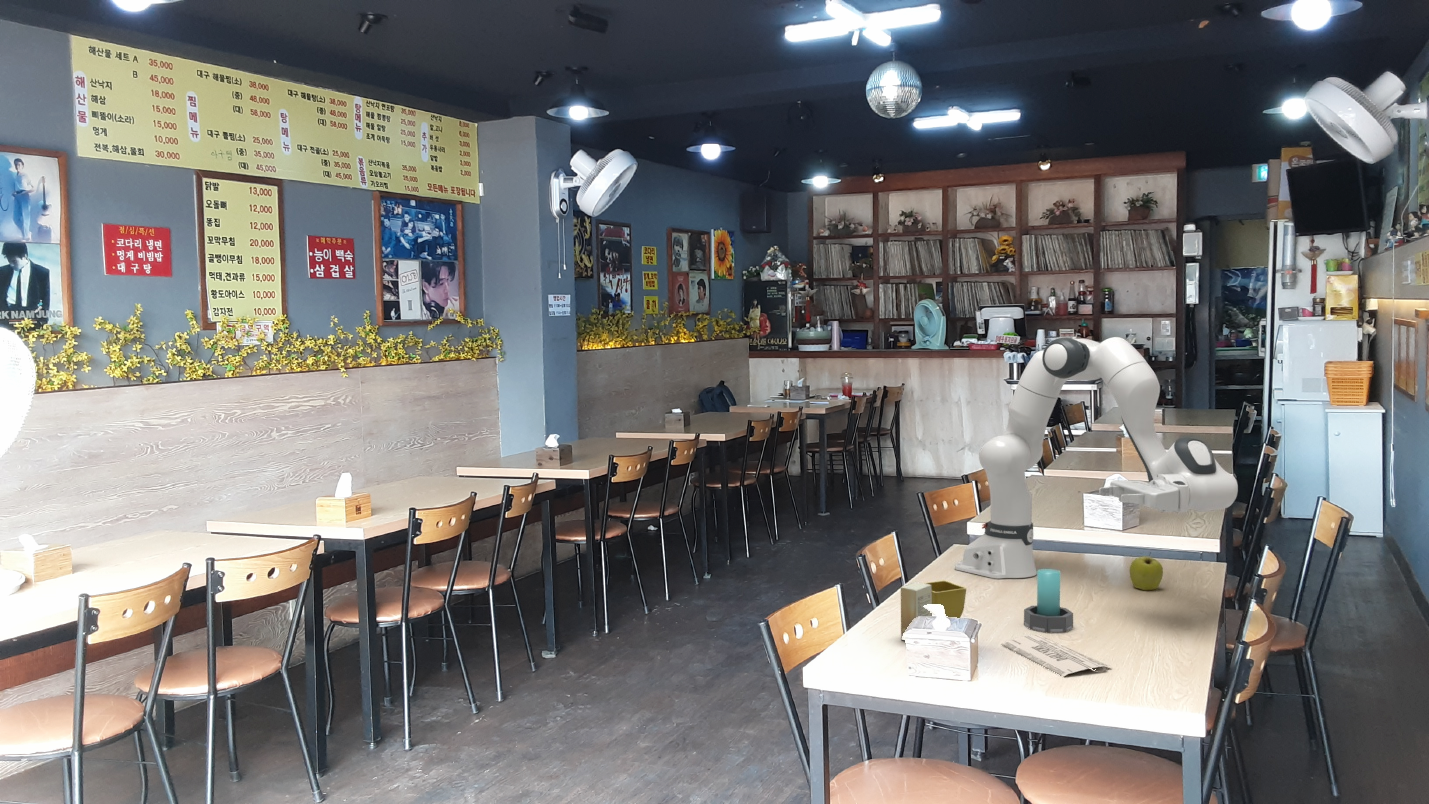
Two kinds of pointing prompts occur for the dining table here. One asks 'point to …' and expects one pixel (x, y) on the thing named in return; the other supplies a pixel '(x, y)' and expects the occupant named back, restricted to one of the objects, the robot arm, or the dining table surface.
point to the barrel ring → (1048, 620)
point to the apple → (1146, 573)
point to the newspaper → (1052, 655)
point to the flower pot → (948, 597)
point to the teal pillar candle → (1048, 592)
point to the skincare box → (914, 602)
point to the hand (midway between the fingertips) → (1110, 495)
